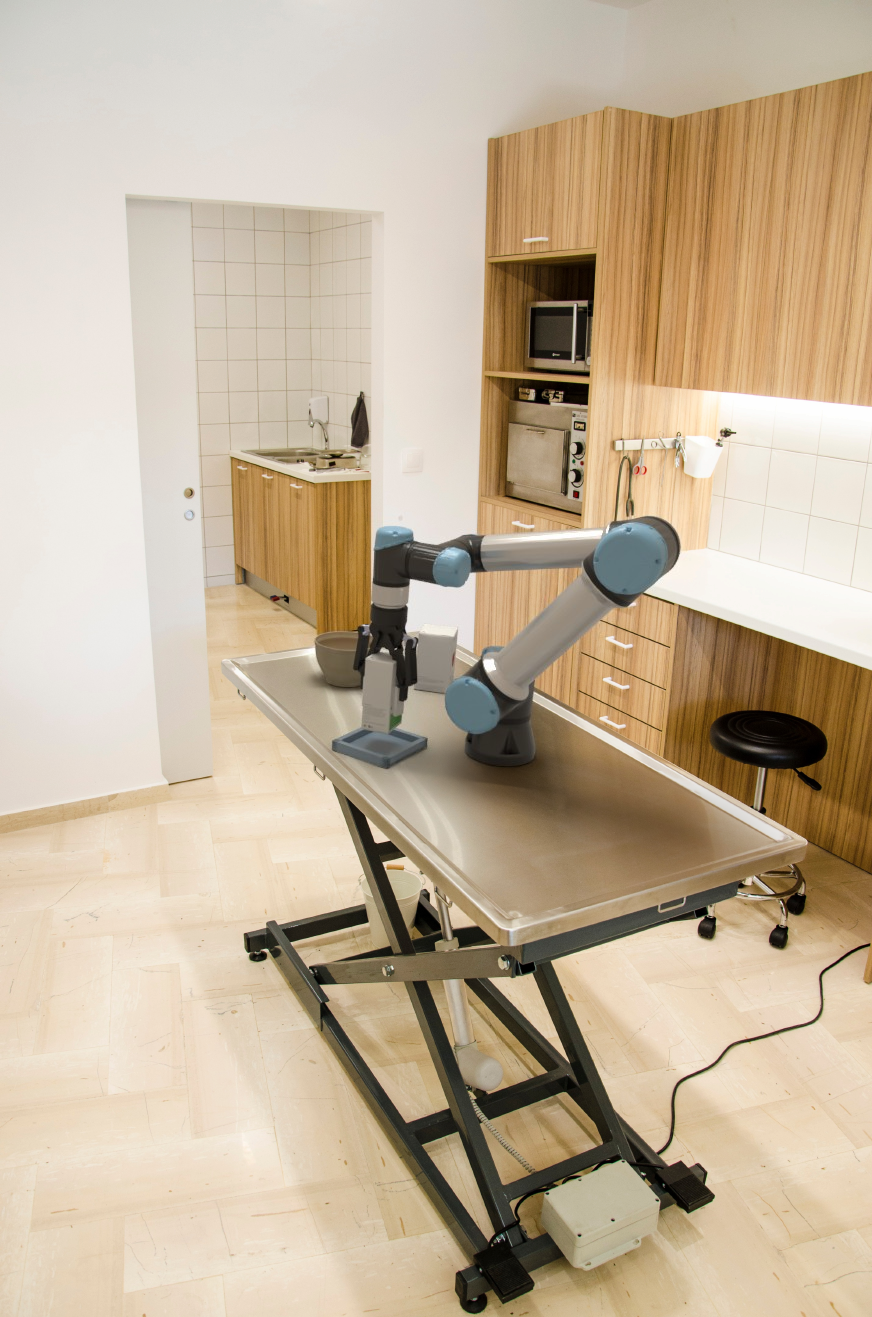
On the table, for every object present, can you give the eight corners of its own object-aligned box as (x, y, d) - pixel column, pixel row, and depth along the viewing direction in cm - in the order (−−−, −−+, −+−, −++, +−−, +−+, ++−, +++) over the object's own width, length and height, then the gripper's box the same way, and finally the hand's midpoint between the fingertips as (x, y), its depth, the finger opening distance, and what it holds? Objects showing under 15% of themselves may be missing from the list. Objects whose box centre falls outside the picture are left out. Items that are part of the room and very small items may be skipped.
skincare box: (387, 735, 202) (393, 664, 197) (358, 729, 204) (363, 658, 199) (402, 722, 210) (408, 653, 205) (374, 716, 212) (379, 647, 207)
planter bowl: (385, 676, 252) (388, 636, 249) (365, 696, 237) (368, 654, 234) (326, 667, 256) (328, 627, 252) (302, 686, 241) (304, 643, 237)
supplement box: (449, 694, 243) (454, 636, 239) (413, 690, 245) (417, 632, 240) (454, 682, 252) (459, 626, 247) (419, 678, 253) (424, 622, 248)
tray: (427, 747, 211) (427, 738, 211) (386, 769, 199) (386, 759, 198) (374, 729, 218) (374, 720, 217) (331, 749, 206) (332, 740, 205)
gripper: (441, 610, 197) (432, 717, 204) (360, 590, 207) (354, 693, 214) (420, 617, 191) (412, 727, 198) (338, 596, 201) (333, 701, 208)
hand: (382, 709), depth 206 cm, fingers closed on skincare box, 7 cm apart
